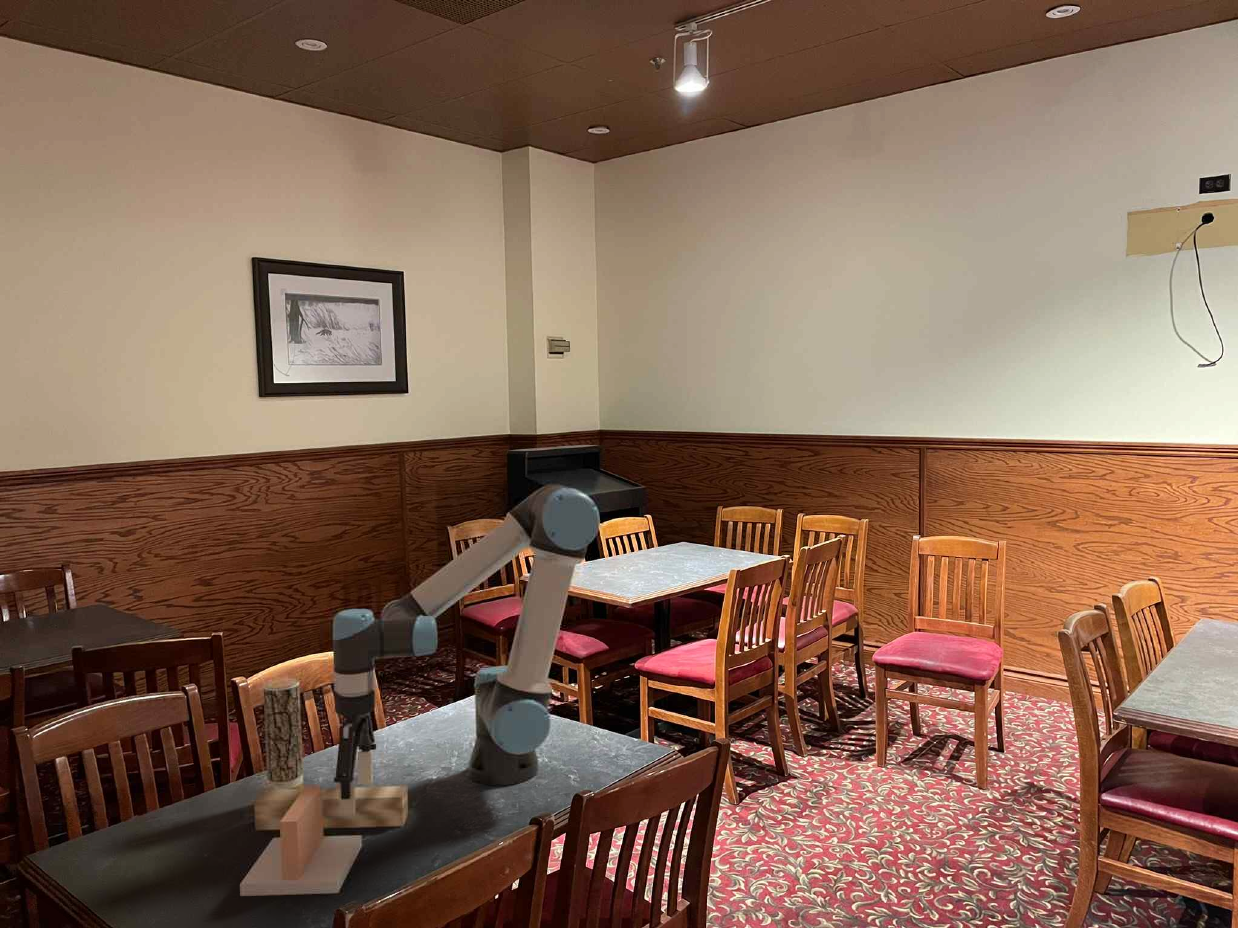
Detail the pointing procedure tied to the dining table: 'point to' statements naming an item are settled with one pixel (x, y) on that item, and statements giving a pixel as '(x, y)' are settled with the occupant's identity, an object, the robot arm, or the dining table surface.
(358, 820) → the birch beam
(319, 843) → the balance stand
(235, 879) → the dining table surface
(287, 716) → the bark-covered stump
